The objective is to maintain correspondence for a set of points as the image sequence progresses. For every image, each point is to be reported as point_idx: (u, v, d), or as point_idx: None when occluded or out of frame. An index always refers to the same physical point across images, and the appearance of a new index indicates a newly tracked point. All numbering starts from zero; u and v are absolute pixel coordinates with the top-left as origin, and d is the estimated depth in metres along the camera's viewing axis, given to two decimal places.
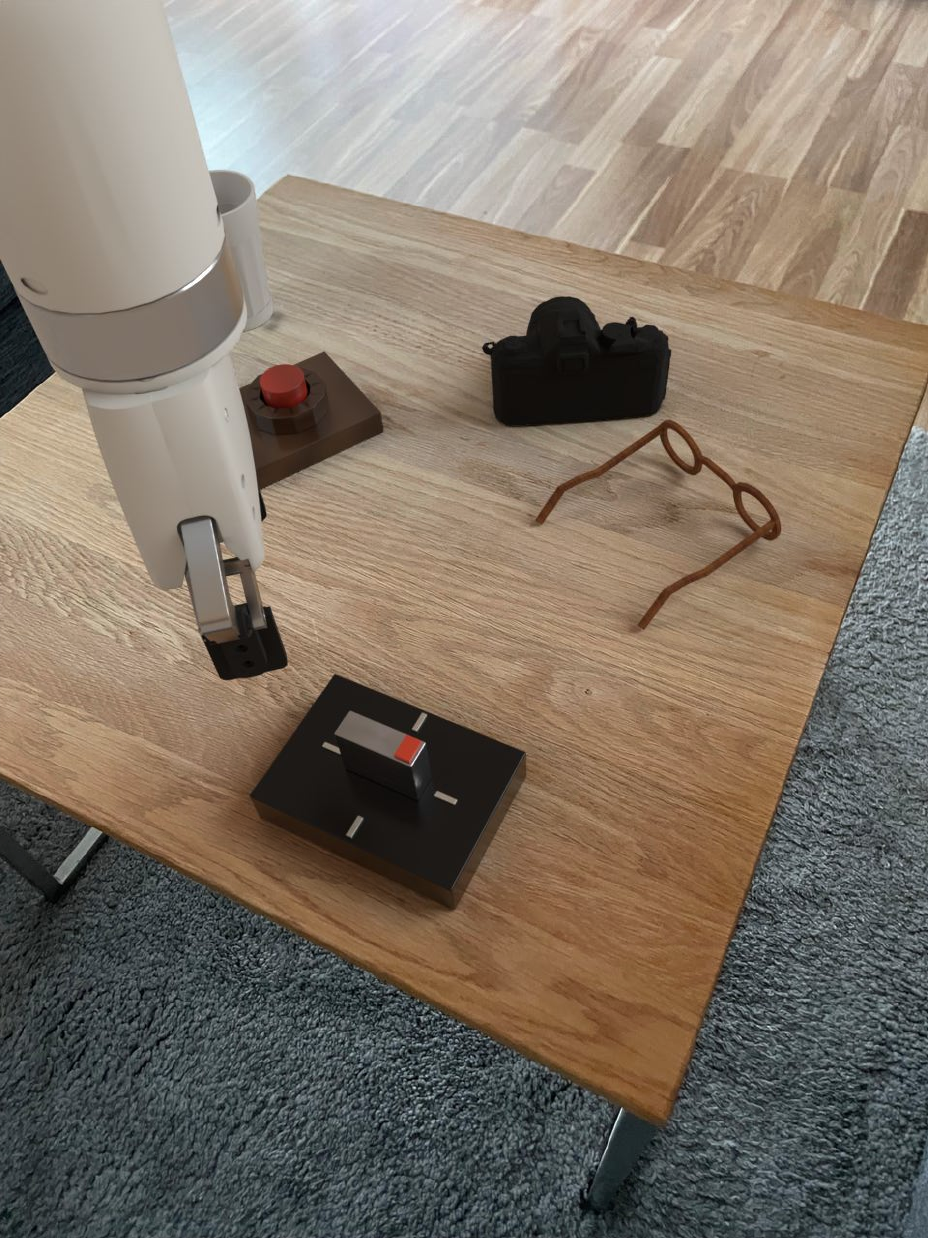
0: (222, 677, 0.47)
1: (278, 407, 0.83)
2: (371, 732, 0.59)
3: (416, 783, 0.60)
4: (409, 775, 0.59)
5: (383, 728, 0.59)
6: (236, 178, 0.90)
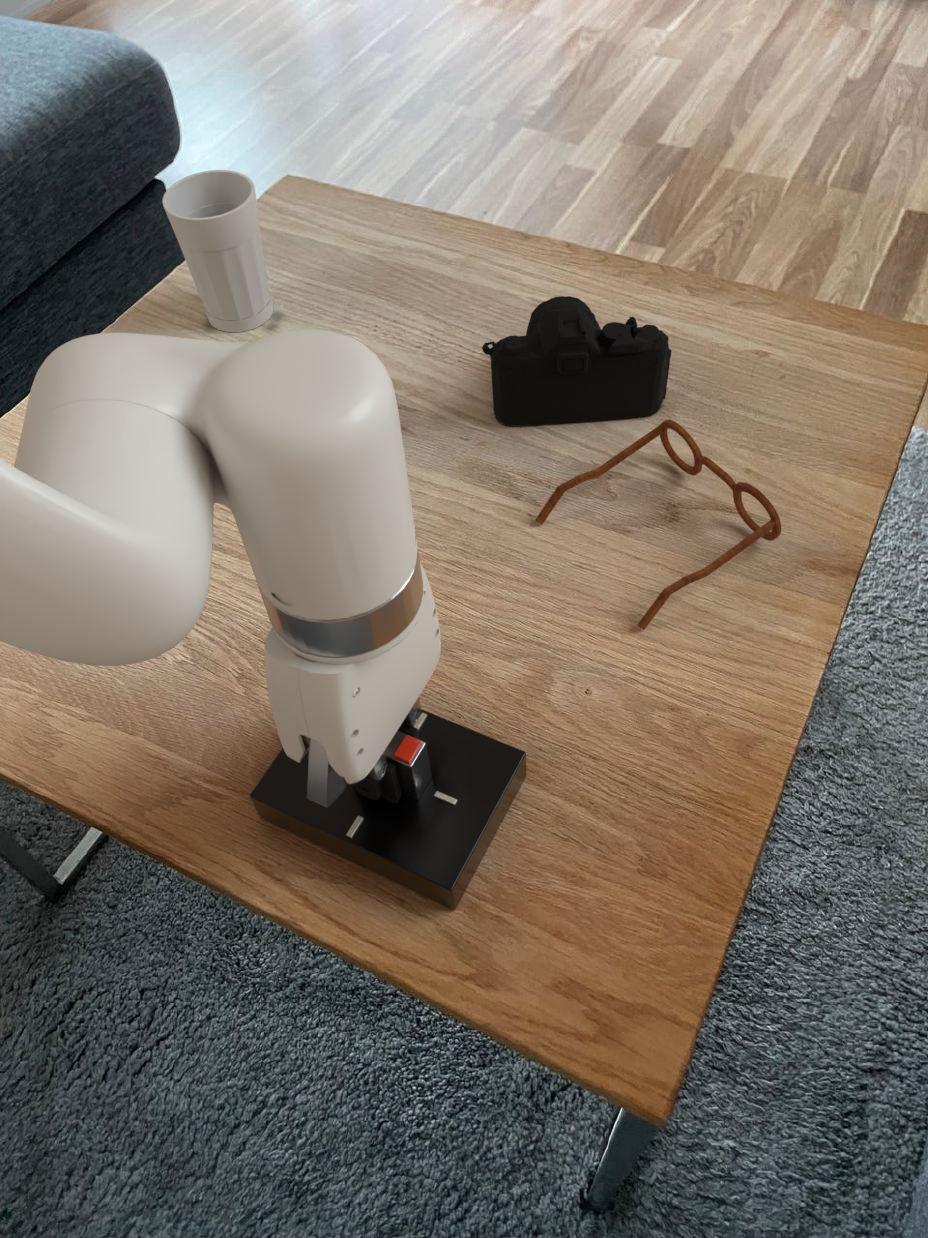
0: None
1: None
2: None
3: (415, 783, 0.60)
4: (409, 775, 0.59)
5: None
6: (236, 178, 0.90)
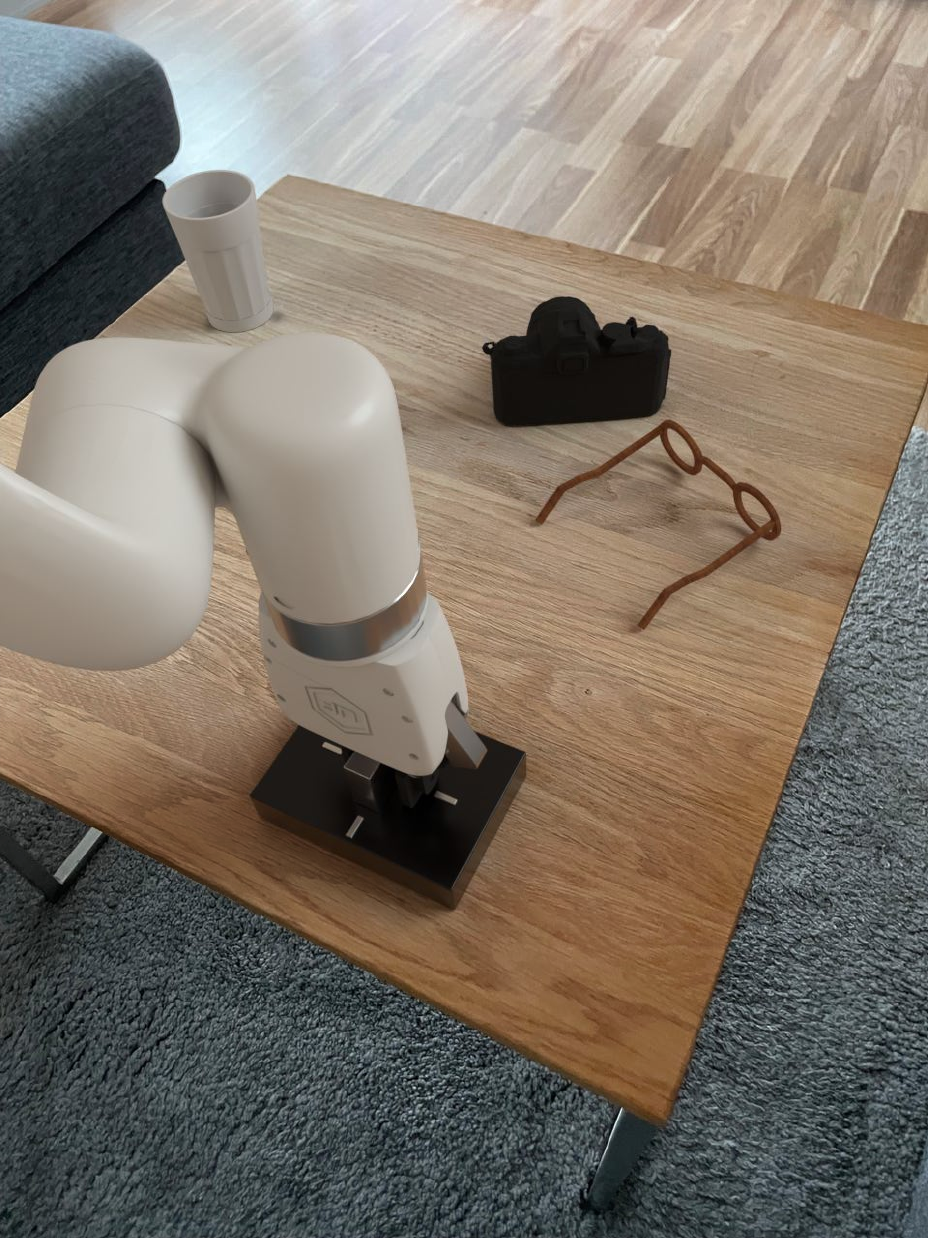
0: (411, 806, 0.61)
1: None
2: None
3: None
4: None
5: None
6: (236, 178, 0.90)
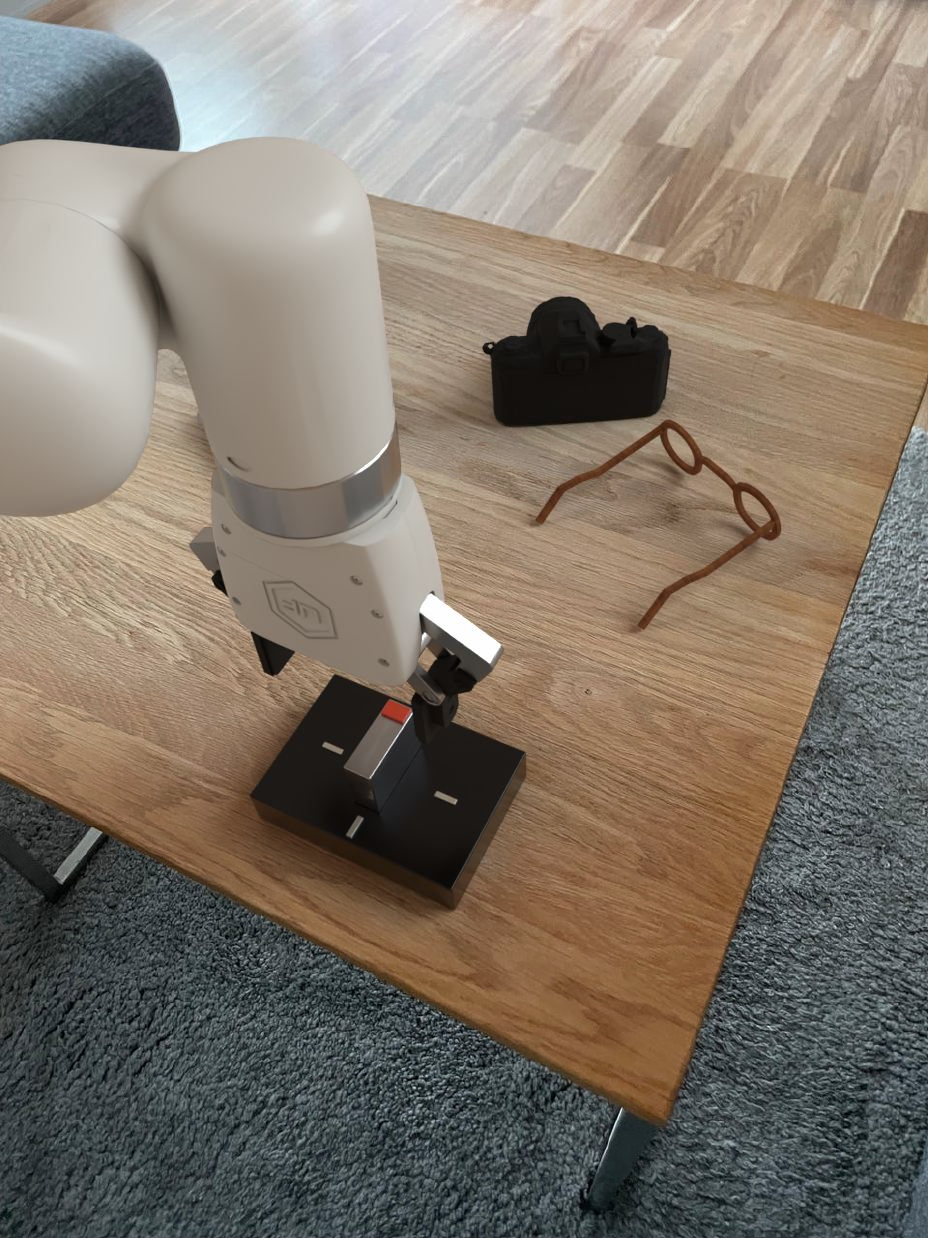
0: (427, 741, 0.53)
1: None
2: (372, 745, 0.59)
3: None
4: None
5: (369, 735, 0.59)
6: None
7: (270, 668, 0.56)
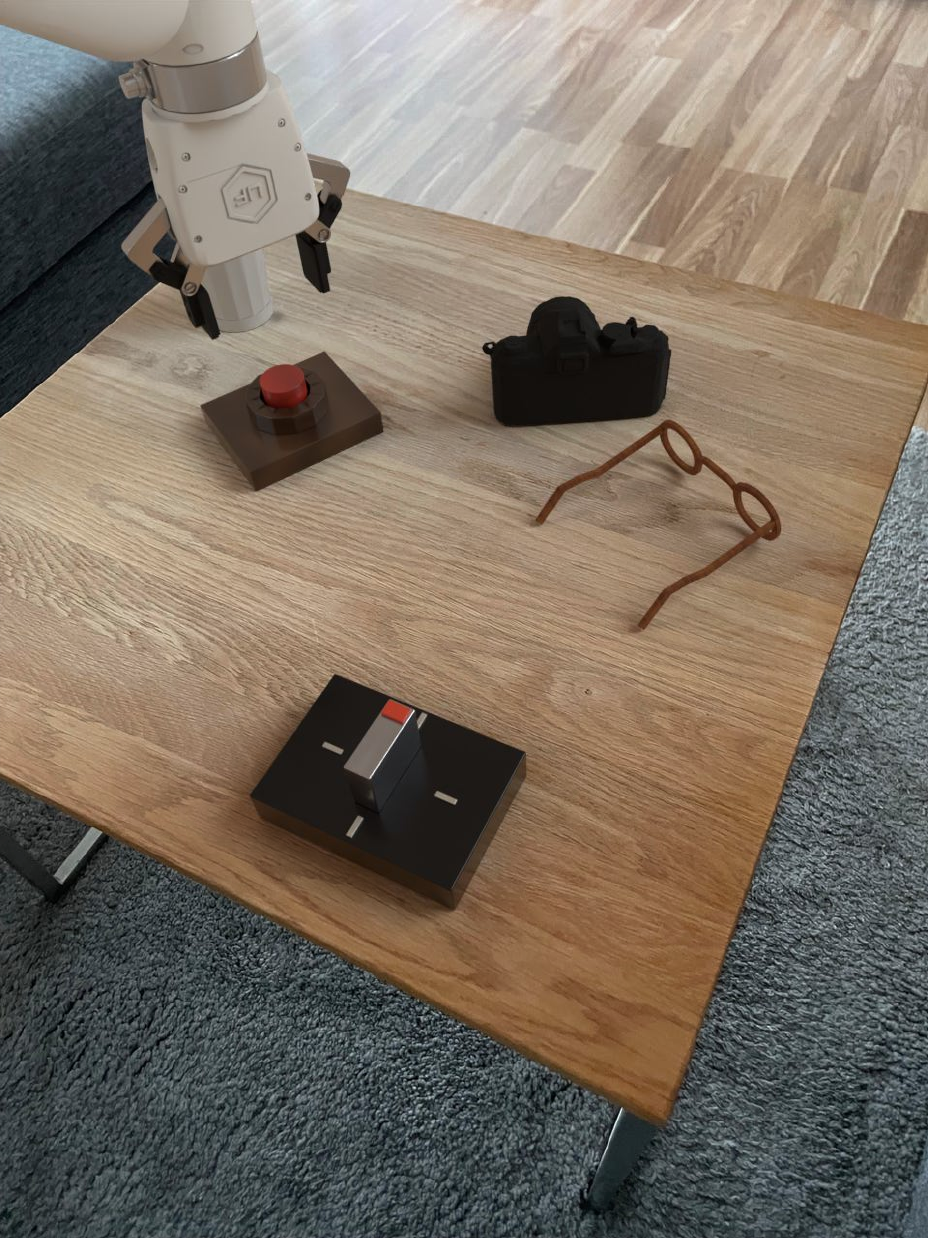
0: (329, 288, 0.77)
1: (278, 407, 0.83)
2: (372, 745, 0.59)
3: (416, 727, 0.62)
4: (415, 722, 0.61)
5: (369, 735, 0.59)
6: None
7: (216, 328, 0.74)
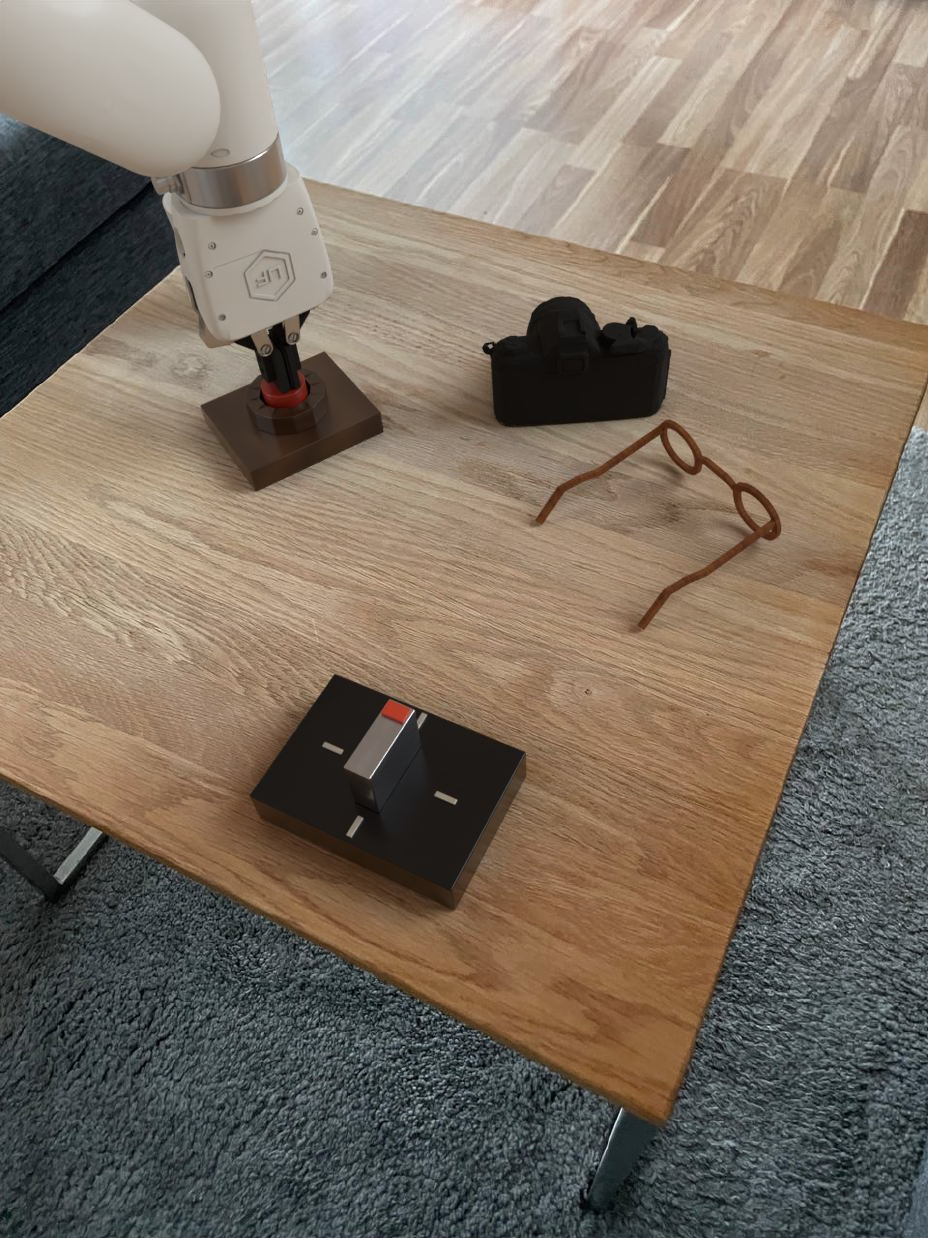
0: (299, 383, 0.82)
1: None
2: (372, 745, 0.59)
3: (416, 727, 0.62)
4: (415, 722, 0.61)
5: (369, 735, 0.59)
6: None
7: (287, 383, 0.81)
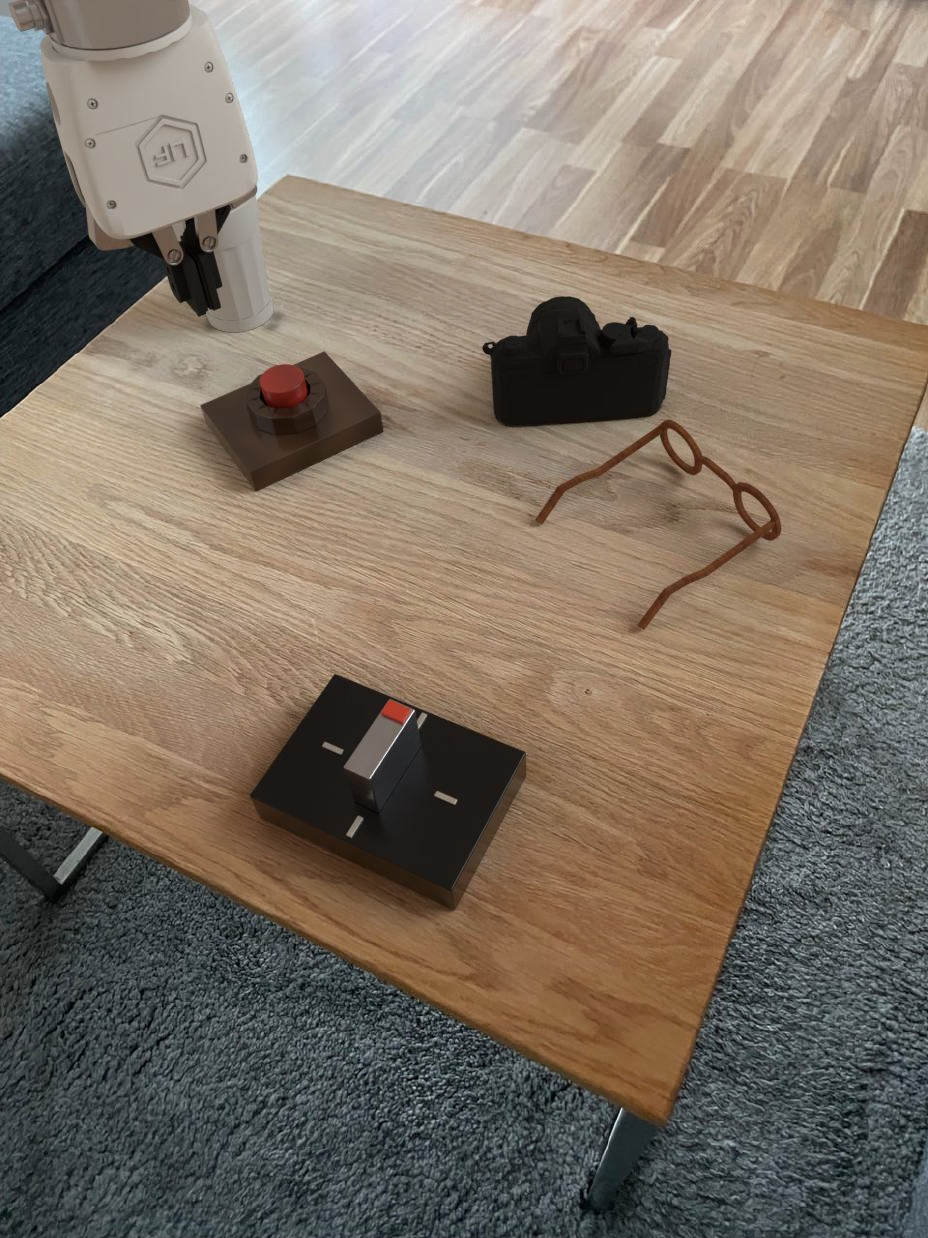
0: (220, 304, 0.67)
1: (278, 407, 0.83)
2: (372, 745, 0.59)
3: (416, 727, 0.62)
4: (415, 722, 0.61)
5: (369, 735, 0.59)
6: None
7: (203, 303, 0.66)
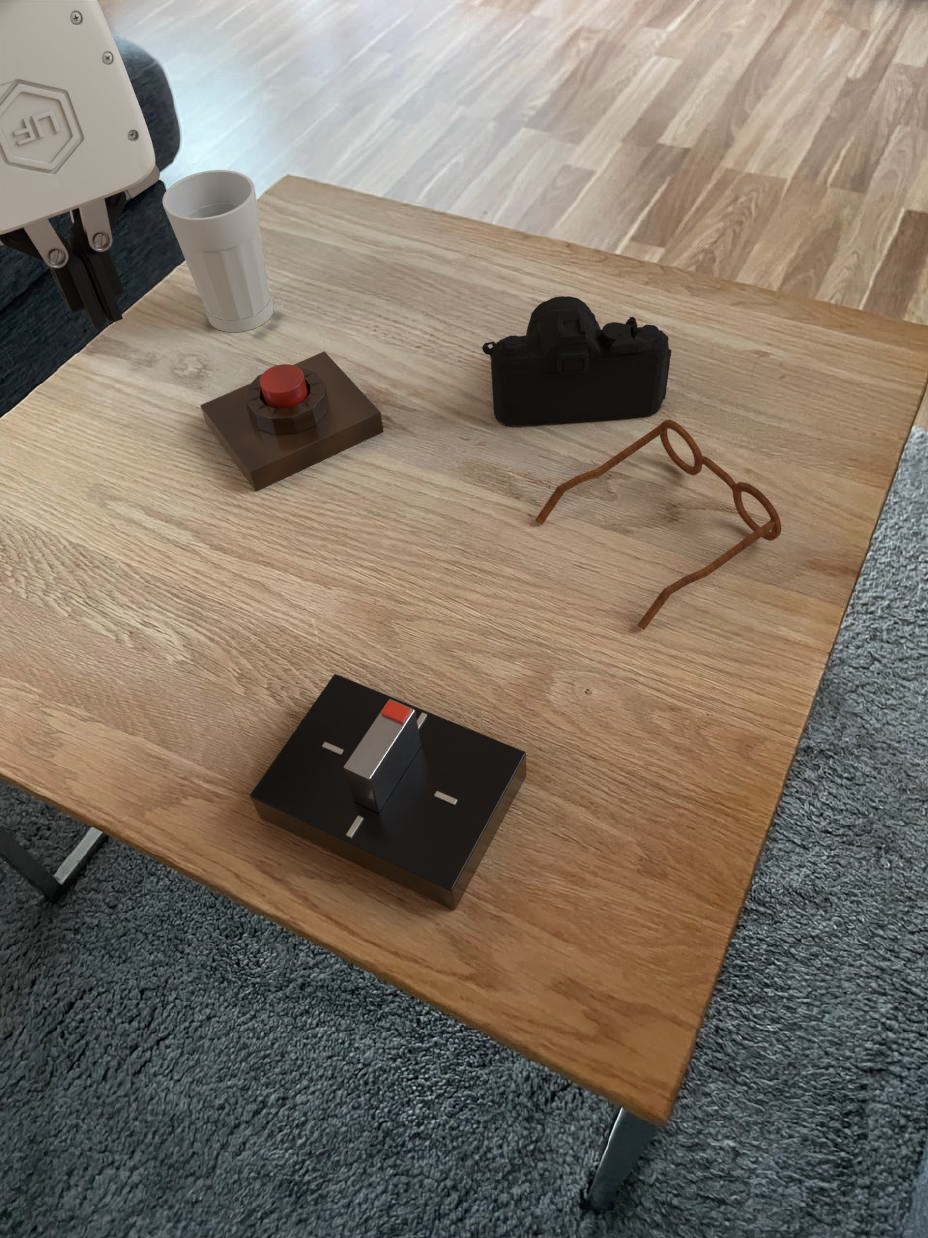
0: (121, 315, 0.55)
1: (278, 407, 0.83)
2: (372, 745, 0.59)
3: (416, 727, 0.62)
4: (415, 722, 0.61)
5: (369, 735, 0.59)
6: (236, 178, 0.90)
7: (100, 313, 0.54)
